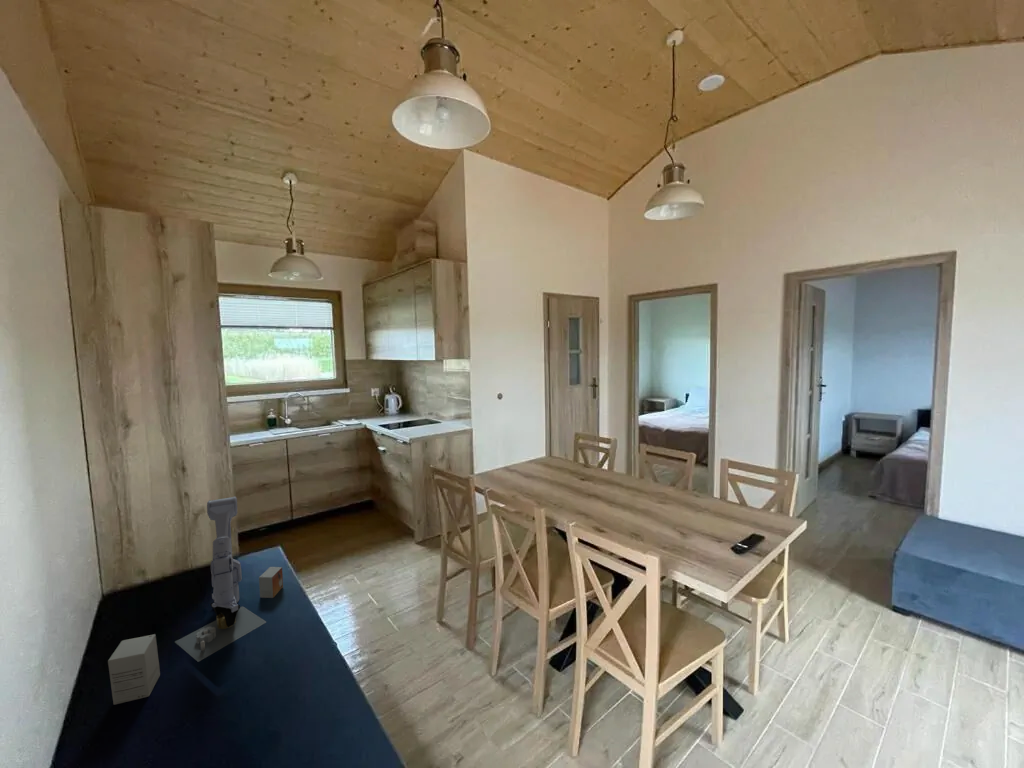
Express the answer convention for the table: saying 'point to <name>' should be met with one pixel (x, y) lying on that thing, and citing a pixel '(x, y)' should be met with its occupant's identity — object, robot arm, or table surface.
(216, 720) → the table surface
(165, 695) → the table surface
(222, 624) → the brass gear
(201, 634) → the gear board
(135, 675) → the supplement box
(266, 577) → the small box
